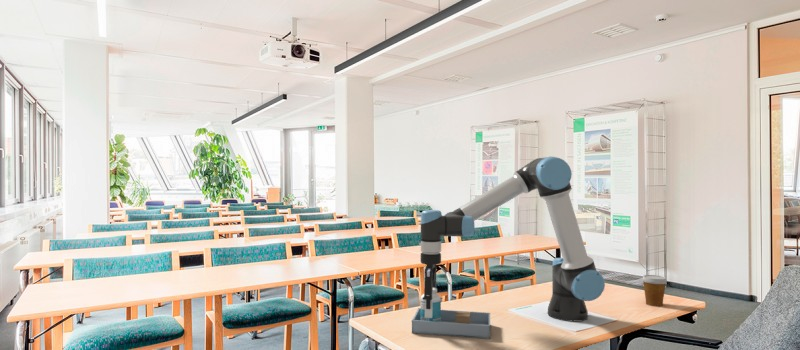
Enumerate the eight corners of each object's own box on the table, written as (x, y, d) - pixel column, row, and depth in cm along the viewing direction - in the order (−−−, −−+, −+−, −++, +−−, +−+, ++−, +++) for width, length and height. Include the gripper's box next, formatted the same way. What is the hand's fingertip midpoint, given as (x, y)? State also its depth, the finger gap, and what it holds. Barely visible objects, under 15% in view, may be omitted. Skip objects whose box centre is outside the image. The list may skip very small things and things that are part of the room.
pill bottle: (441, 323, 173) (442, 287, 173) (439, 329, 166) (439, 291, 166) (421, 321, 175) (422, 285, 175) (418, 327, 167) (419, 290, 167)
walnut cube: (469, 330, 165) (469, 316, 165) (455, 329, 166) (455, 315, 166) (470, 325, 170) (470, 312, 170) (456, 324, 171) (456, 311, 171)
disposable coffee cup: (643, 300, 209) (643, 273, 209) (668, 303, 204) (668, 276, 204) (640, 305, 202) (640, 277, 202) (665, 308, 196) (665, 280, 196)
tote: (490, 324, 174) (490, 312, 174) (490, 338, 159) (490, 325, 159) (418, 319, 179) (418, 308, 179) (411, 333, 164) (411, 320, 164)
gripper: (424, 247, 182) (424, 304, 182) (415, 257, 160) (415, 322, 160) (444, 248, 180) (443, 305, 180) (437, 258, 158) (437, 323, 158)
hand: (430, 313), depth 170 cm, fingers open, 10 cm apart
